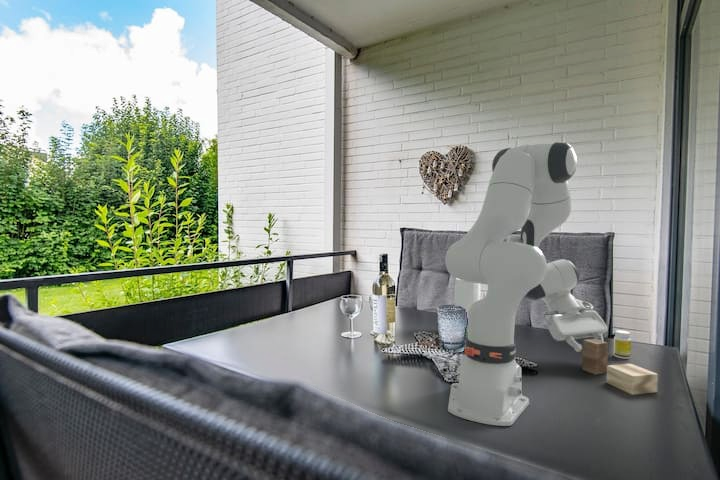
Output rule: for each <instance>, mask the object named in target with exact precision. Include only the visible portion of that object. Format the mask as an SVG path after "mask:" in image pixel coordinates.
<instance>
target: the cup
mask: <svg viewBox="0 0 720 480" xmlns="http://www.w3.org/2000/svg"><path fill="white" fill-rule="evenodd" d="M481 286H482V285H481V284H480V283H473V282H466V281H464V280H461V279H458V278H456V277H455V281H454V305H455V307H456V306H461V307H464V308H465V309H466V312H467V318H468V310H469V308H470V307H471V305H472V304H473V303H475V302H476V301H478V300H481V293H482V291H481Z"/></svg>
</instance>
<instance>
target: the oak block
mask: <svg viewBox="0 0 720 480" xmlns="http://www.w3.org/2000/svg"><path fill="white" fill-rule="evenodd" d="M658 380H659V373H657V372H653V371H651V370H648V369H646V368H643V367H641V366H638V365H637V364H632V363H622V364H610V365H608V364H607V373H606V381H605V382H606V383H607V384H609V385H611V386H612V387H615V388H618V389H619V390H622V391H623V392H626V393H628V394H630V395H632V396H634V395H639V394H640V395H641V394H642V395H643V394H649V393H650V394H651V393H658V384H659V383H658Z"/></svg>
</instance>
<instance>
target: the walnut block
mask: <svg viewBox="0 0 720 480" xmlns="http://www.w3.org/2000/svg"><path fill="white" fill-rule="evenodd" d="M582 344H583V345H582V347H583V348H584V350H583V351H582V365H581V366H582V370H583V371H586V372H588V373H591V374H593V375H595V376H596V375H602V374H607V365H608V356H609V355H608V352H609V342H607V341H600V340H597V339H595V338H588V339H583V341H582Z"/></svg>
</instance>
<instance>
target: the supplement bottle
mask: <svg viewBox="0 0 720 480" xmlns="http://www.w3.org/2000/svg"><path fill="white" fill-rule="evenodd" d="M614 335H615V336H614V337H613V348H612V349H613V352H612V353H613V356H614V357H616V358H618V359H624V360H628V359H631V350H632V349H631V347H632V345H631V344H632V341H631V340H632V339H631V337H630V336H631V333H630V332H629V331H628V330H627V331H625V330H621V329H620V330H615V333H614Z"/></svg>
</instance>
